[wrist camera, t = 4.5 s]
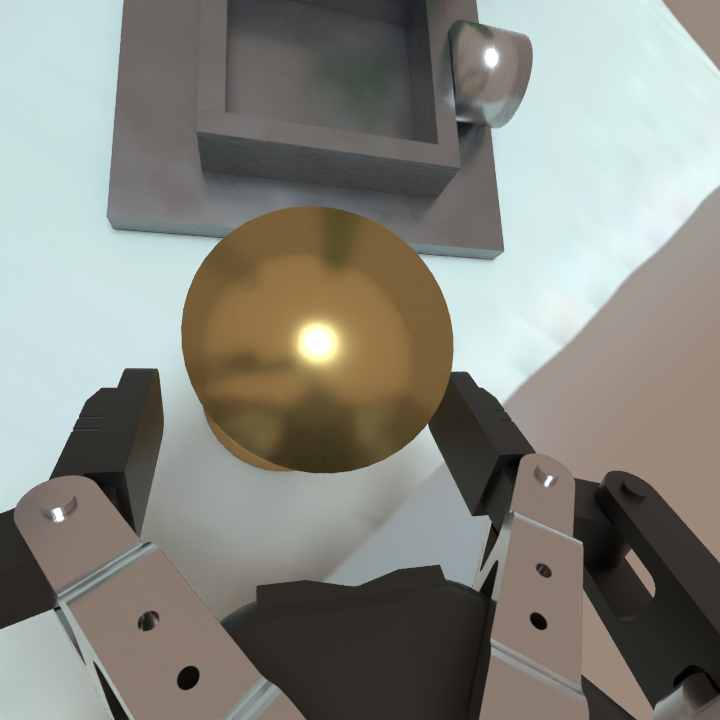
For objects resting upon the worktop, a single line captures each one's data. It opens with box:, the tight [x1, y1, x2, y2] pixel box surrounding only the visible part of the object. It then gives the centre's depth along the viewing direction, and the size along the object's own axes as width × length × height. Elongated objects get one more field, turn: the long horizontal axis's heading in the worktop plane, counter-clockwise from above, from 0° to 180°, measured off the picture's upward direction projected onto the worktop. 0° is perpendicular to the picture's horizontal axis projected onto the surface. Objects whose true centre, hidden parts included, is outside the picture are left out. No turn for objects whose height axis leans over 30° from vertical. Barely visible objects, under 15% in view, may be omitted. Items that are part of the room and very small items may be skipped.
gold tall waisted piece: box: [181, 206, 453, 473], centre depth 14 cm, size 6×6×10 cm
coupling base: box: [107, 0, 533, 259], centre depth 20 cm, size 18×16×5 cm
